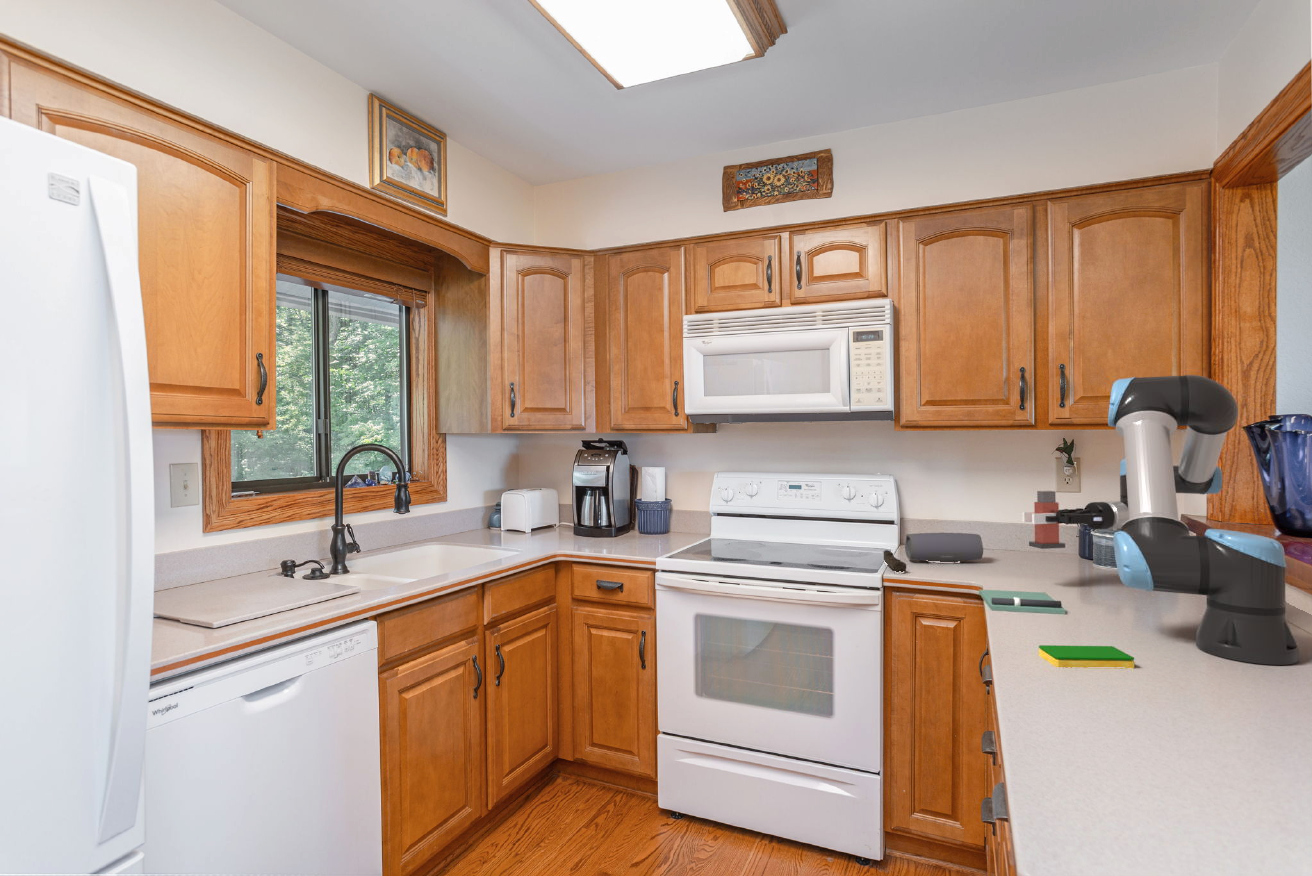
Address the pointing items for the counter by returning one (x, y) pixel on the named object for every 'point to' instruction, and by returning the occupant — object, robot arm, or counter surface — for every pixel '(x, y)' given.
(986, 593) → the cutting mat
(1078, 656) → the dish sponge
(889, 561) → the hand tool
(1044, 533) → the grey-capped red pillar
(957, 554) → the bluetooth speaker
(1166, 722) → the counter surface
